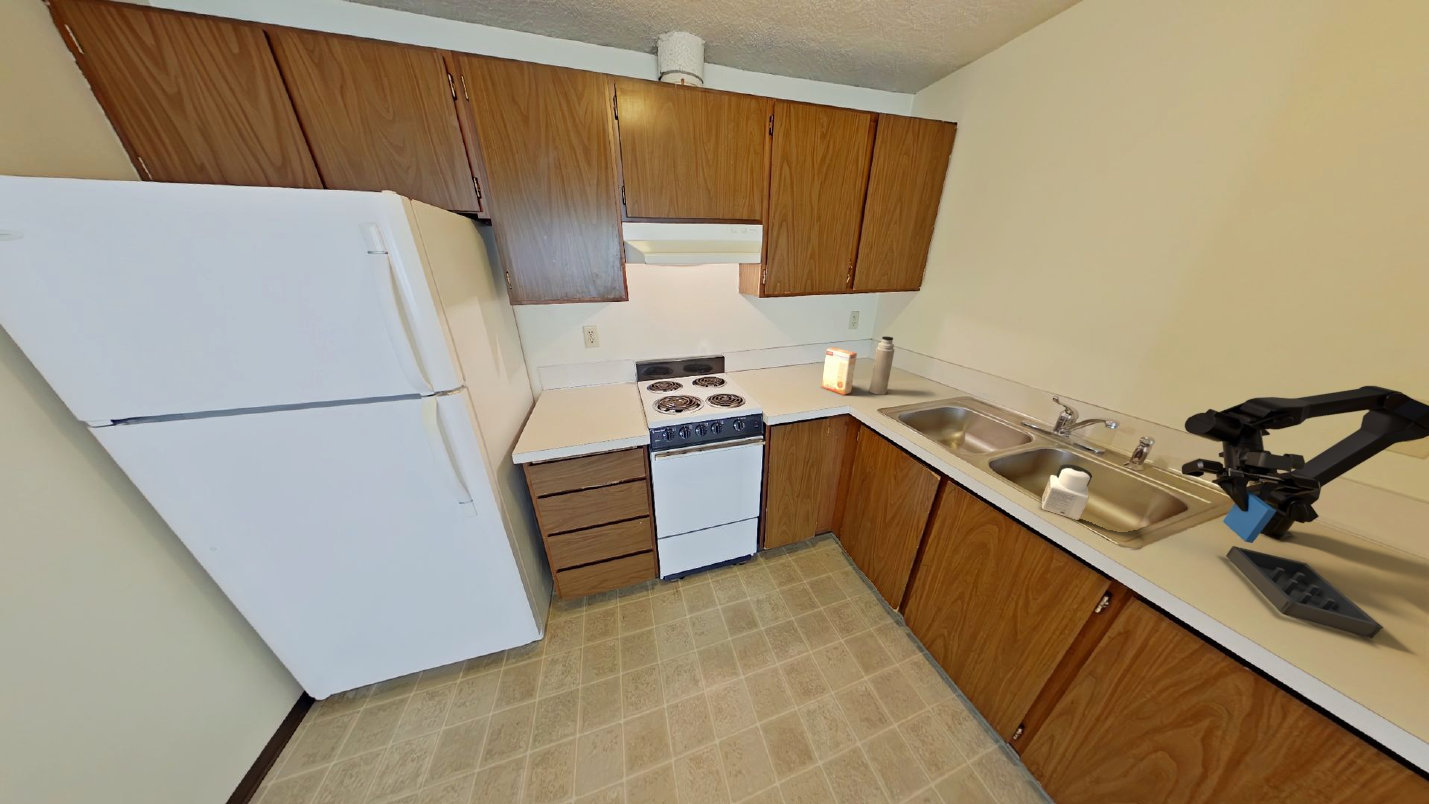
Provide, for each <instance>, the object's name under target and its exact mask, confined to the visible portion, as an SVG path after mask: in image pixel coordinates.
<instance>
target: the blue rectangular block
mask: <svg viewBox="0 0 1429 804" xmlns="http://www.w3.org/2000/svg"><path fill="white" fill-rule="evenodd" d="M1247 496H1248V503H1249V507H1248V511H1245V512H1244V511H1241V509H1240V508H1239V507H1238V506H1237V505H1236V504H1235V503H1234V504H1233V505H1232V507H1231V508H1230V510H1229V511H1228V512H1227V514H1226V515H1225V517H1224V518H1223V519H1222V522H1223V524H1225V525H1226V526H1227V527H1228V528H1229V529H1230V530H1232V532H1234V533H1235V534H1236V535H1237V536H1238V537H1239V538H1240V539H1241V540H1243V541H1244V542H1246V543H1249V544H1253V543H1254V542H1255V541H1256V539H1257V538H1258V537H1259V536H1260V534H1261V531H1262V530H1263V528H1264V527H1265V526H1266V524H1267V523H1268V522H1269V520H1270V519H1271V518H1272V516H1273V515H1274V514H1275V512H1276V510H1274V509H1273V508H1272V507H1270V506H1269V505H1268V504H1266V503H1265V502H1264V501H1262V500H1261V499H1259V498H1258V497H1257V496H1255V495H1254V494H1253V493H1251V492H1247Z"/></svg>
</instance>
